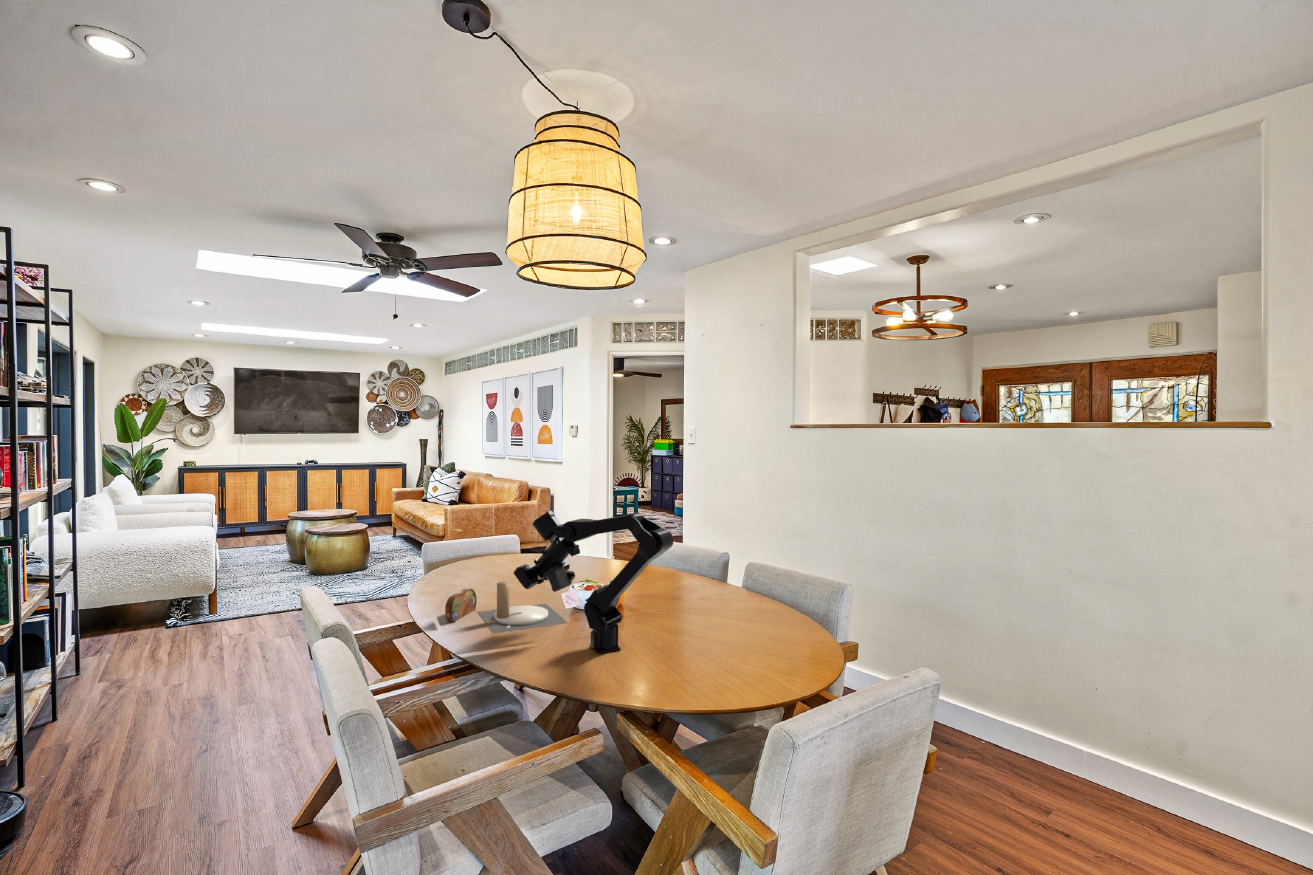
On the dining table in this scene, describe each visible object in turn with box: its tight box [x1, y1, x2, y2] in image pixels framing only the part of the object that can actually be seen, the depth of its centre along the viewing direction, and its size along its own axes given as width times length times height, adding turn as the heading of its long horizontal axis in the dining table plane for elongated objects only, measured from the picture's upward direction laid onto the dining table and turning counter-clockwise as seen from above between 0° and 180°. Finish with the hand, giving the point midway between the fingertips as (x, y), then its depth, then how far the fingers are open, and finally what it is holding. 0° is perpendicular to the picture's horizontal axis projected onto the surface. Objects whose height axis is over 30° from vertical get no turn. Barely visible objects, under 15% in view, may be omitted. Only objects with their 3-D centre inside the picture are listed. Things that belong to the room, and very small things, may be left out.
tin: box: [444, 588, 478, 623], centre depth 193 cm, size 15×3×8 cm, turn 168°
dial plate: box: [476, 603, 569, 634], centre depth 192 cm, size 22×22×1 cm
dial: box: [494, 581, 548, 625], centre depth 192 cm, size 16×16×11 cm
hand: (527, 587), depth 182 cm, fingers closed
